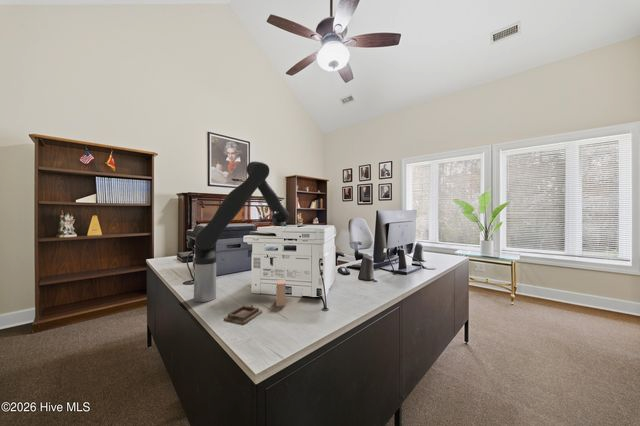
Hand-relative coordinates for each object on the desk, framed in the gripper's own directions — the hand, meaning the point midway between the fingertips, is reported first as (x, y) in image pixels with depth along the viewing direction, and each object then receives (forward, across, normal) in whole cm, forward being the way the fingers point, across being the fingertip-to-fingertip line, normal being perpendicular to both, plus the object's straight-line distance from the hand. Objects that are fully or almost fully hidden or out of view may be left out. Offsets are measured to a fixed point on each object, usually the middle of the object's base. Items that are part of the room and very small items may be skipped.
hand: (280, 264), depth 120 cm
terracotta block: (+18, 0, +4) cm, 19 cm away
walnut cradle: (+26, -15, -4) cm, 30 cm away
